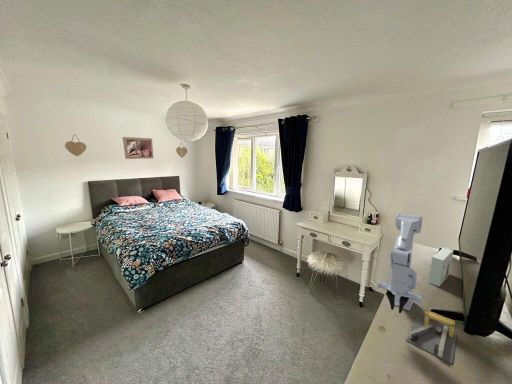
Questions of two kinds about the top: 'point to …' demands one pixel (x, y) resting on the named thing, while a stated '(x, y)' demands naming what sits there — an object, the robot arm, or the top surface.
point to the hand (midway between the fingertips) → (396, 310)
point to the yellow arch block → (441, 319)
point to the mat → (433, 340)
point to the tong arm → (419, 332)
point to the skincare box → (440, 266)
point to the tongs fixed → (440, 348)
